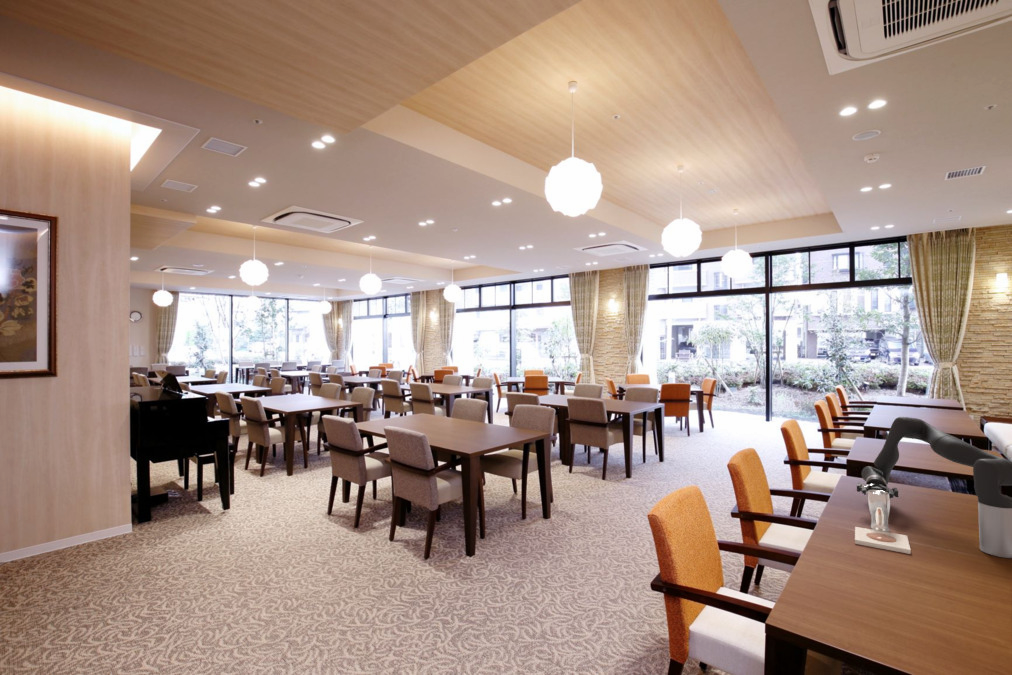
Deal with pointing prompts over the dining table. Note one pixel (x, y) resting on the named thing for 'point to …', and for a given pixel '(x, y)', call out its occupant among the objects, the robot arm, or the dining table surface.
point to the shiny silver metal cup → (879, 509)
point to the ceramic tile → (882, 540)
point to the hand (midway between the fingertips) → (877, 494)
